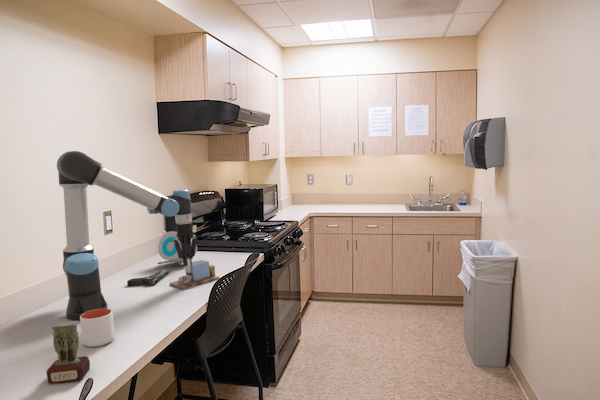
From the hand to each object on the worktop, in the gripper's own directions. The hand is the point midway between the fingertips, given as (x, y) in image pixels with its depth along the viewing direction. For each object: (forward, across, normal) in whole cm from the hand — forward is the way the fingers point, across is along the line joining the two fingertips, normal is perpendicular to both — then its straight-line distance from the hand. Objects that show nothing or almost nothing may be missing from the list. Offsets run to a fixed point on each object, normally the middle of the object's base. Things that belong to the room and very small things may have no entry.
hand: (188, 272), depth 221 cm
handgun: (+6, -8, +23) cm, 25 cm away
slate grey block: (+5, +5, 0) cm, 7 cm away
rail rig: (+6, +3, 0) cm, 7 cm away
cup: (+6, -57, -34) cm, 66 cm away
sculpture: (+6, -73, -52) cm, 90 cm away
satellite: (+6, +18, +38) cm, 43 cm away
